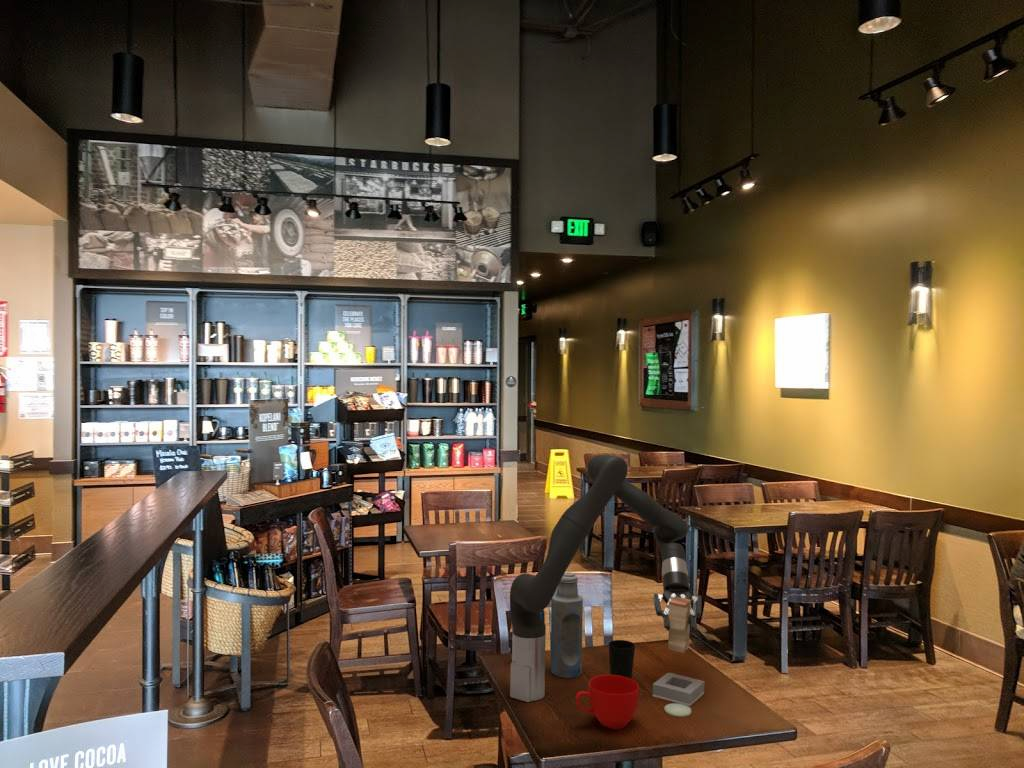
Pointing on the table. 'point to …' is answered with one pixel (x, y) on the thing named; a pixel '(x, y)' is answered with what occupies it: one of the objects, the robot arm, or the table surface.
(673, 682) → the socket block
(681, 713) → the pad
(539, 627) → the robot arm
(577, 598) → the bottle
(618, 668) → the cup
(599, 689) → the ceramic cup
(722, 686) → the table surface
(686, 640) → the plug
